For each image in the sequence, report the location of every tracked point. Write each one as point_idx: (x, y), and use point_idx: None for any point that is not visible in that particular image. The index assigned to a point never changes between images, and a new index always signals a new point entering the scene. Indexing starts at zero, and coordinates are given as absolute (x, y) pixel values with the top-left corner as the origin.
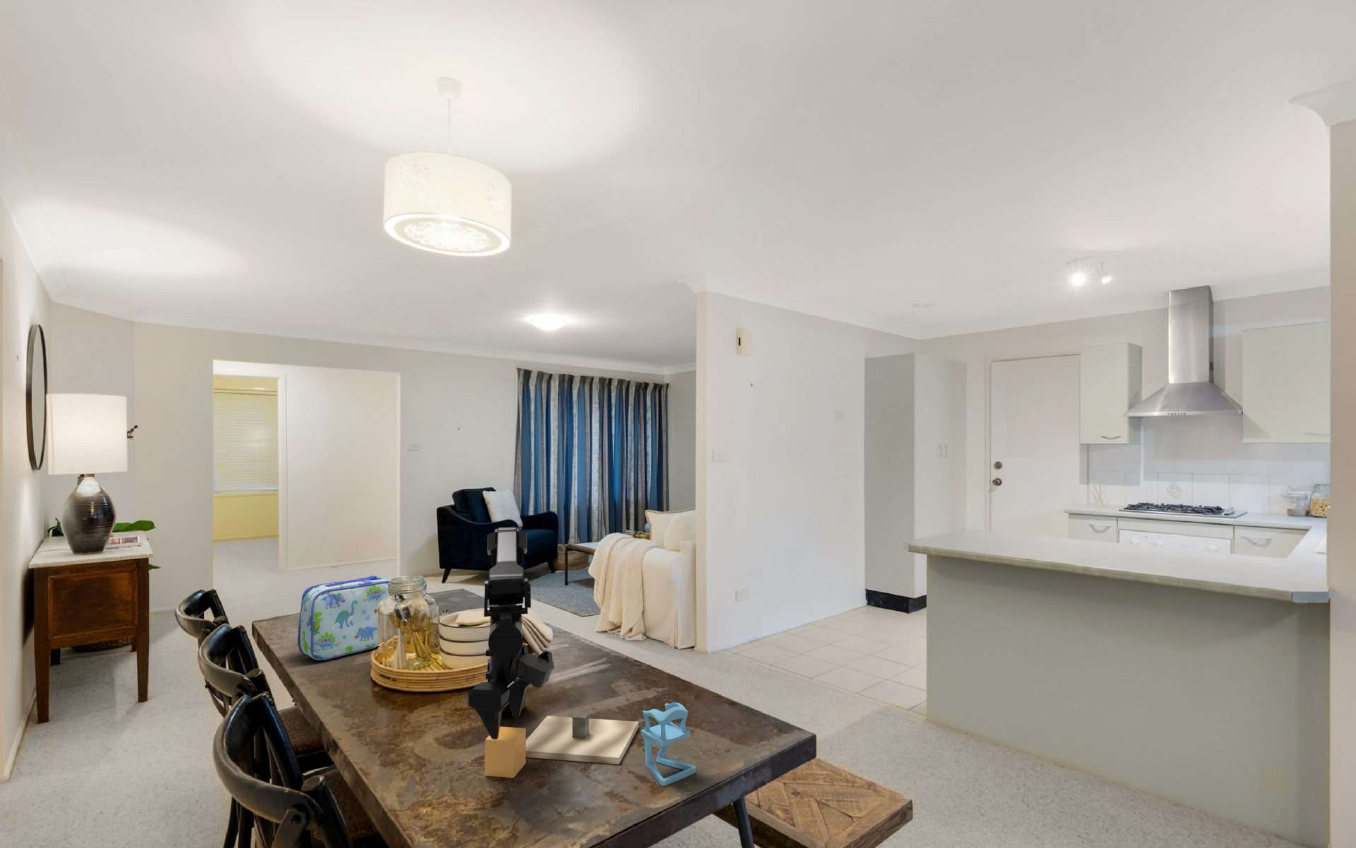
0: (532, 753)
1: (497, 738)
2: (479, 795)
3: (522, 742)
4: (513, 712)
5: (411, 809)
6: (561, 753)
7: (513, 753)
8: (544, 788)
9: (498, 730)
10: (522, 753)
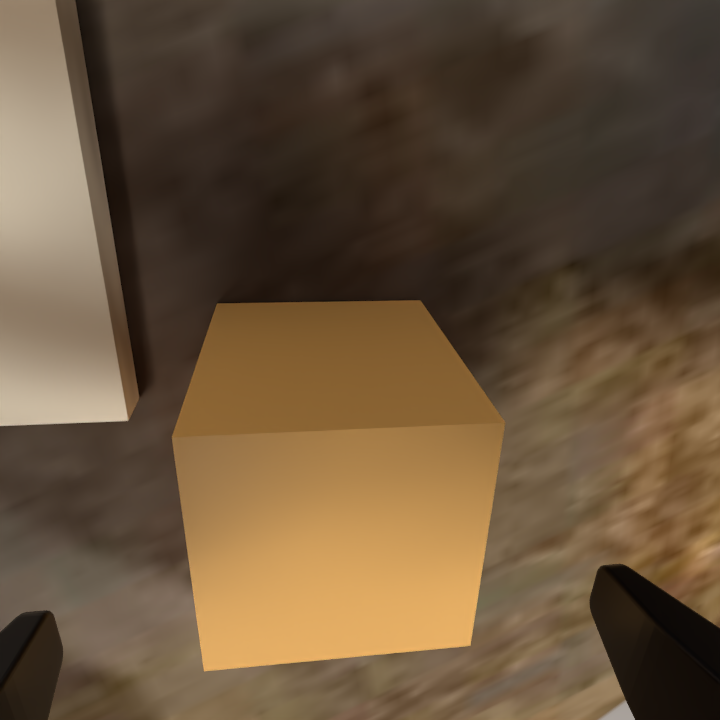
0: (111, 300)
1: (619, 566)
2: (610, 398)
3: (272, 378)
4: (38, 712)
5: (697, 594)
6: (58, 14)
7: (465, 370)
8: (547, 15)
9: (704, 629)
10: (271, 339)
